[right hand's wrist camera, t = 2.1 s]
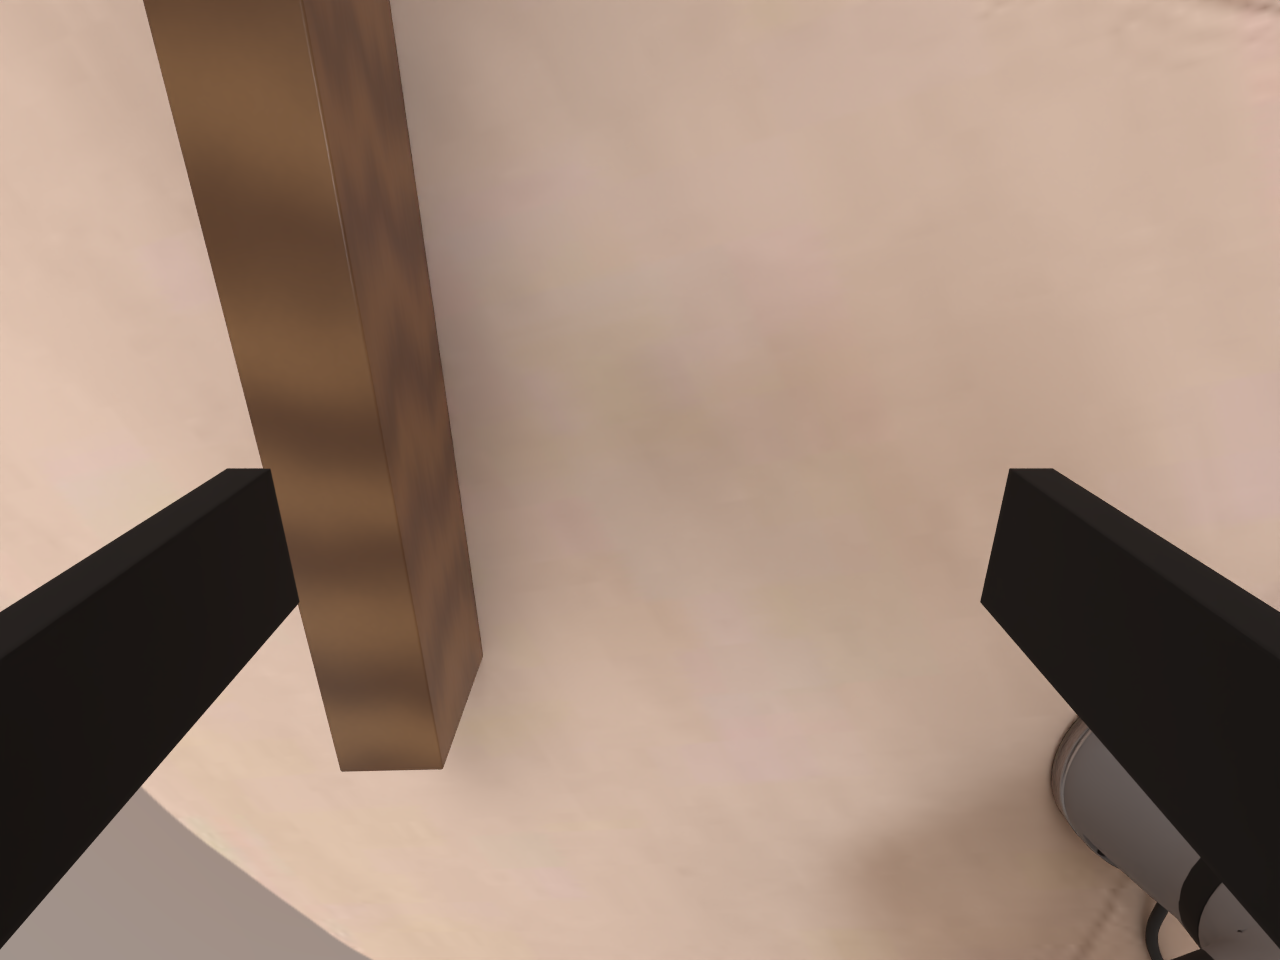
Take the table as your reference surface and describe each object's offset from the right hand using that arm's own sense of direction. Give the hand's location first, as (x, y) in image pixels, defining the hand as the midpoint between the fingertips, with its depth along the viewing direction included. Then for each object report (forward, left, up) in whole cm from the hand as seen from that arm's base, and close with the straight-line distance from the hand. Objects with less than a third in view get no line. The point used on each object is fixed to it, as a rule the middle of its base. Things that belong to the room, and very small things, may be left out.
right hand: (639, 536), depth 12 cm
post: (+17, +12, -22) cm, 31 cm away
